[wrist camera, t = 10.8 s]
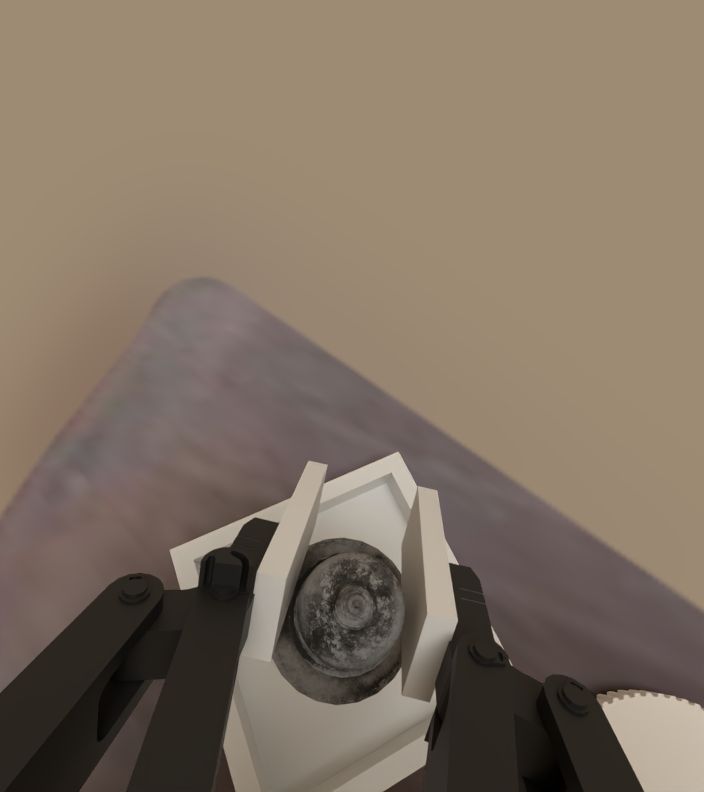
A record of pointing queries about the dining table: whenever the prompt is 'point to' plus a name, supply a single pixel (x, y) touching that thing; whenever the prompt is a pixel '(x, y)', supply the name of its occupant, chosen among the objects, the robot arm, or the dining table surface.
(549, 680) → the robot arm
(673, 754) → the cream gear
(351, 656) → the chess piece
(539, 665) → the dining table surface
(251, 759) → the parts tray
